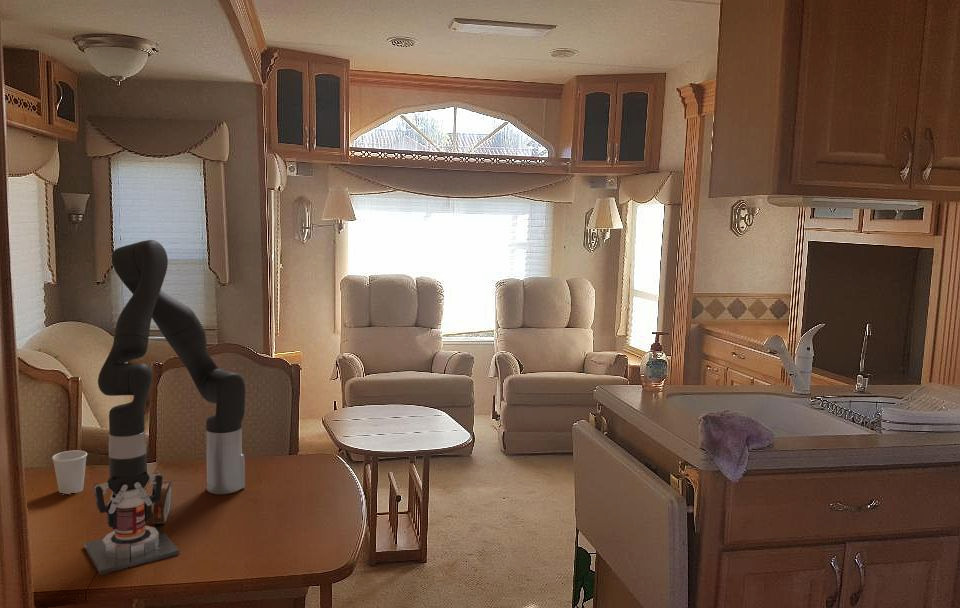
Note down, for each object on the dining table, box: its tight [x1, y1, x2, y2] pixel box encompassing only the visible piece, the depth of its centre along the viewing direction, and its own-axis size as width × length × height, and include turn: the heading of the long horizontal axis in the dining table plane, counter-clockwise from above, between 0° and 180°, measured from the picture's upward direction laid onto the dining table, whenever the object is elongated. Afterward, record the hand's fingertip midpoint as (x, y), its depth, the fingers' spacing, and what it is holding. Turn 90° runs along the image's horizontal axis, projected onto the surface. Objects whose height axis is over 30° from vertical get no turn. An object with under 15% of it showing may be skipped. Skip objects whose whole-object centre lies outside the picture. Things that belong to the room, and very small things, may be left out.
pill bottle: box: [114, 489, 146, 540], centre depth 162 cm, size 6×6×11 cm
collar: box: [83, 525, 180, 576], centre depth 163 cm, size 16×16×4 cm
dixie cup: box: [51, 449, 88, 495], centre depth 196 cm, size 8×8×10 cm
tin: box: [152, 479, 173, 525], centre depth 181 cm, size 15×3×8 cm, turn 16°
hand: (129, 523), depth 162 cm, fingers closed on pill bottle, 6 cm apart
